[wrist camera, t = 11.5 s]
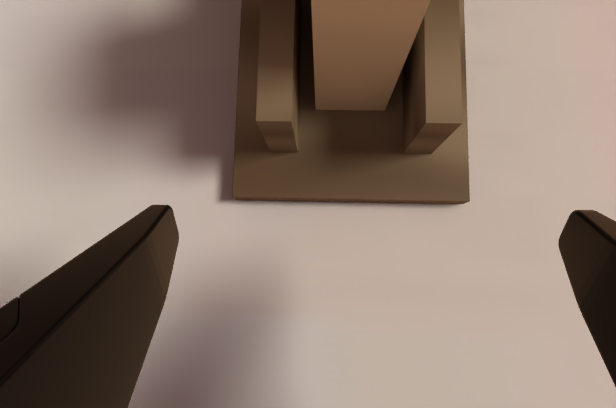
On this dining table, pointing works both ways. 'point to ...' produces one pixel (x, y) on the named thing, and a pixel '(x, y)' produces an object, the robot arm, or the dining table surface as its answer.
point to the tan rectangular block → (361, 50)
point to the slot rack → (349, 116)
